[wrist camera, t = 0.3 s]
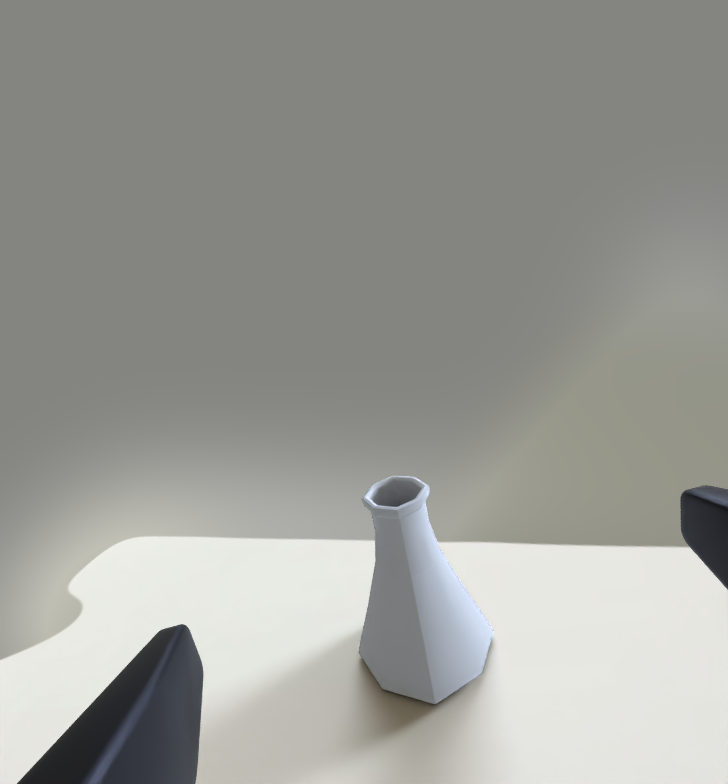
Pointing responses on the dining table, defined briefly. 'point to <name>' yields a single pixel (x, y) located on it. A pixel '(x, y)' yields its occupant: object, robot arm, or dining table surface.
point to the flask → (417, 602)
